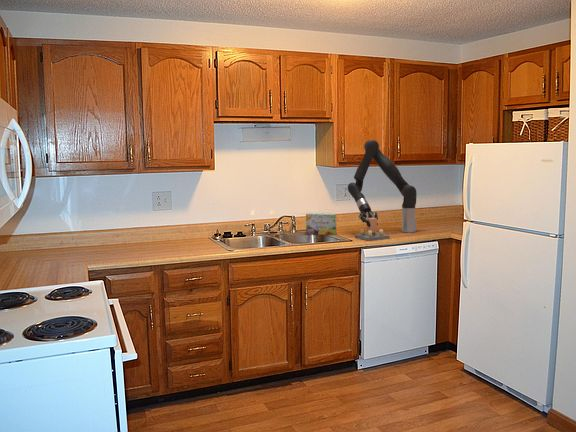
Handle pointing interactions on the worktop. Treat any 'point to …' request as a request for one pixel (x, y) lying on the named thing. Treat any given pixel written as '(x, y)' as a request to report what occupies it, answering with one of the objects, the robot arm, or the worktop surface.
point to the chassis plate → (374, 237)
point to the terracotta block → (372, 224)
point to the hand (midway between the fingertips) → (373, 225)
